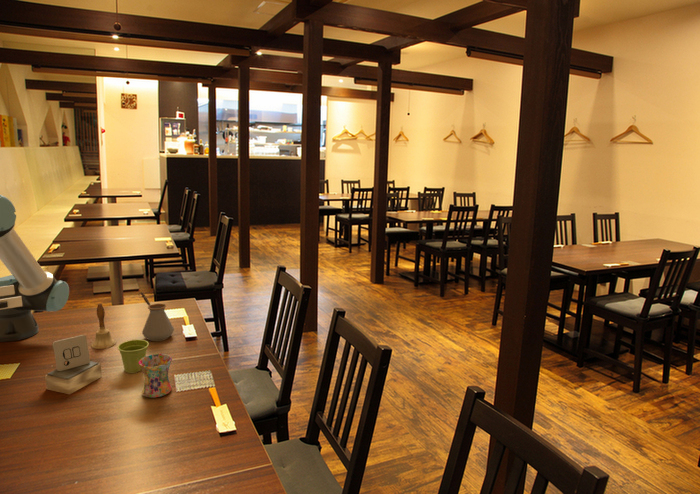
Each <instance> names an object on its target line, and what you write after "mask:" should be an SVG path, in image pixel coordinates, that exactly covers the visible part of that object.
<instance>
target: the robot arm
mask: <svg viewBox="0 0 700 494" xmlns="http://www.w3.org/2000/svg"><path fill="white" fill-rule="evenodd" d="M16 221H17V214H16V207H15V206H14V204H13V202H12V201H11V200H10V199H9V198H8V197H6V196H4V195H2V194H0V261H1V262H2V264H3V265H4V266H5V268H6V269H7V271H9V273H10V275H5V276H2V277H0V342H1V343H3V342H16V341H19V340H20V341H21V340H24V339H28V338H30V337H33V336H35V335H37V333H39V324H38V323H37V320H36V319H35V317H34V315H33V312H34V311H35V312H36V311H37V312H48V313H50V312H58V311H61V310H62V309H63V308H64V307H65V306H66V304H67V302H68V300H69V297H70V296H69V295H70V287H69V284H68V283H67V282H66V281H63V280H57V279H56V278H55V276H54V275H53V274H52V273H51V272H49V271H48V270H44V268H42V266H41V265H40V263H38V261H37V259H36V258H35V256H34V255H33V254H32V253H31V251H30V249H28V246H27V245H26V244H25V242H24V241H23V239H22V238H21V237H20V235H19V234H18V233H17V231H16V230H15V225H16ZM32 311H33V312H32Z"/></svg>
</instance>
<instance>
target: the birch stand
mask: <svg viewBox="0 0 700 494" xmlns="http://www.w3.org/2000/svg"><path fill="white" fill-rule="evenodd" d="M44 376H45V377H44V379H45V380H44V381H45V387H46V390H49V391H53V392H58V393H62V394H66V395H71V394H73V393H75V392H77V391H78V390H80V389H83V388H84V387H86V386H87V385H89V384H91V383H93V382H95V381H96V380H99V379H100V378H102V377H103V376H102V365H101V363H99V362H97V361H92V360H90V363H89V364H85V365H81V366H78V367H74V368H71V369H67V370H63V371H57V368H56V369H54V370H52V371H50V372H48V373H46V374H45V375H44Z"/></svg>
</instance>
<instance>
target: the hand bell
mask: <svg viewBox="0 0 700 494" xmlns="http://www.w3.org/2000/svg"><path fill="white" fill-rule="evenodd" d="M105 314H106V313H105V308H104V305H103V304H102V303H98V304H97V308H96V316H97V319H98V323H99V329H98V330H97V331H95V338H94V341H93V342H91V348H92V349H96V350H102V349H109V348H111V347H113V346H115V345H116V344H117V341H116V339H113V337H112V336H111V332H110V329H108V328H106V326H105V325H106V324H105Z"/></svg>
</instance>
